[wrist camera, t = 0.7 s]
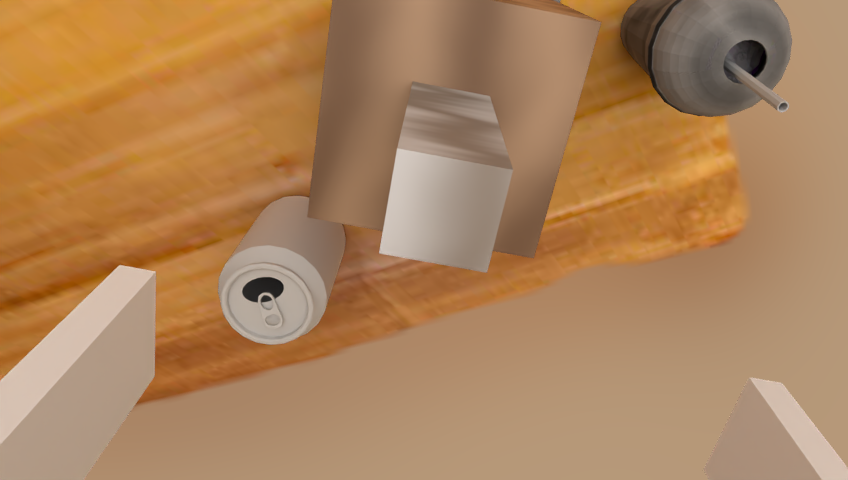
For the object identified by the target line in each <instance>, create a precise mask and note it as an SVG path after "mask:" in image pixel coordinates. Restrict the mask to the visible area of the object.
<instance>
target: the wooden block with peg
mask: <svg viewBox="0 0 848 480" xmlns="http://www.w3.org/2000/svg"><path fill="white" fill-rule="evenodd" d="M600 25H601V22H600V21H598V20H596V19H593V18H591V17H589V16H587V15H585V14H582V13H580V12H578V11H576V10H574V9H572V8H569V7H567V6H565V5H563V4H561V3H559V2H556V1H554V0H333V1H332V9H331V18H330V26H329V35H328V43H327V52H326V60H325V69H324V77H323V86H322V95H321V103H320V112H319V120H318V129H317V137H316V146H315V154H314V163H313V171H312V180H311V188H310V197H309V205H308V214H307V217H308V218H313V219H319V220H324V221H330V222H335V223H341V224H346V225H352V226H357V227H363V228H369V229H374V230H380V231H383V233H382V239H381V245H380V251H379V253H380V254H385V255H391V256H397V257H402V258H408V259H413V260H419V261H425V262H430V263H436V264H441V265H447V266H453V267H458V268H464V269H469V270H475V271H481V272H486V273H487V271H488V267H489V263H490V259H491V255H492V251H496V252H502V253H507V254H513V255H518V256H524V257H529V258H534V255H535V252H536V249H537V245H538V242H539V238H540V235H541V231H542V228H543V224H544V221H545V217H546V214H547V210H548V207H549V203H550V200H551V196H552V193H553V189H554V186H555V182H556V179H557V175H558V172H559V168H560V165H561V161H562V158H563V154H564V151H565V147H566V144H567V140H568V137H569V133H570V130H571V126H572V123H573V119H574V116H575V112H576V109H577V106H578V102H579V99H580V95H581V92H582V88H583V85H584V81H585V78H586V74H587V71H588V67H589V64H590V60H591V57H592V53H593V50H594V46H595V43H596V39H597V36H598V32H599V29H600Z"/></svg>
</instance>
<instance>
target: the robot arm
mask: <svg viewBox="0 0 848 480" xmlns="http://www.w3.org/2000/svg"><path fill="white" fill-rule="evenodd" d="M155 309H156V271H150V270H145V269H139V268H133V267H128V266H122V265H119V266H118V267H117V268H116V269H115V270H114V271H113V272H112V273H111V274H110V275H109V276H108V277H107V278H106V279H105V280H104V281H103V282H102V283H101V284H100V285H99V286H98V287H97V288H95V289H94V290H93V291H92V292H91V293H90V294H89V295H88V296H87V297H86V298H85V299H84V300H83V301H82V302H81V303H80V304H79V305H78V306H77V307H76V308H75V309H74V310H73V311H72V312H71V313H70V314H69V315H68V316H67V317H66V318H65V319H63V320H62V321H61V322H60V323H59V324H58V325H57V326H56V327H55V328H54V329H53V330H52V331H51V332H50V333H49V334H48V335H47V336H46V337H45V338H44V339H43V340H42V341H41V342H40V343H39V344H38V345H37V346H36V347H35V348H34V349H32V350H31V351H30V352H29V353H28V354H27V355H26V356H25V357H24V358H23V359H22V360H21V361H20V362H19V363H18V364H17V365H16V366H15V367H14V368H13V369H12V370H11V371H10V372H9V373H8V374H7V375H6V376H5V377H4V378H3V379H2V380H0V480H84V479H85V477H86V476H87V475H88V473H89V472H90V470H91V469H92V467H93V466H94V464H95V463H96V461H97V460H98V458H99V457H100V456H101V454H102V452H103V451H104V450H105V448H106V447H107V445H108V444H109V442H110V441H111V439H112V438H113V436H114V435H115V434H116V432H117V431H118V429H119V428H120V426H121V425H122V423H123V422H124V420H125V419H126V417H127V416H128V414H129V413H130V412H131V410H132V409H133V407H134V406H135V404H136V403H137V401H138V400H139V398H140V397H141V395H142V394H143V392H144V391H145V390H146V388H147V387H148V385H149V384H150V382H151V381H152V379H153V378H154V376H155ZM704 471H705V473H706V475H707V477H708V479H709V480H848V468H847V466H846V465H845V464H844V463H843V461H842V460H841V458H840V457H839V456H838V455H837V453H836V452H835V451H834V449H833V448H832V447H831V446H830V444H829V443H828V442H827V440H826V439H825V438H824V437H823V435H822V434H821V433H820V431H819V430H818V429H817V428H816V426H815V425H814V424H813V422H812V421H811V420H810V419H809V417H808V416H807V415H806V413H805V412H804V411H803V409H802V408H801V407H800V406H799V405H798V403H797V402H796V400H795V399H794V398H793V397H792V395H791V394H790V393H789V391H788V390H787V389H786V388H785V386H784V385H783V384H782V383H779V382H773V381H767V380H762V379H756V378H751V377H749V378H748V381H747V383H746V384H745V386H744V389H743V391H742V393H741V395H740V397H739V399H738V401H737V403H736V405H735V407H734V409H733V411H732V413H731V415H730V417H729V419H728V421H727V423H726V425H725V427H724V429H723V431H722V433H721V435H720V437H719V440H718V441H717V443H716V445H715V448H714V450H713V452H712V454H711V456H710V458H709V460H708V462H707V464H706V466H705V468H704Z"/></svg>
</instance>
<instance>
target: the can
mask: <svg viewBox="0 0 848 480" xmlns="http://www.w3.org/2000/svg"><path fill="white" fill-rule="evenodd" d="M308 205H309V197H304V196H298V195H297V196H288V197H283V198H280V199H278V200H276V201H274V202H272V203H270V204H269V205H268V206H267V207H266V208H265V209H264V210H263V211H262V212H261V213H260V215H259V216H258V218H257V219H256V221H255V222H254V223H253V225H252V226H251V228H250V229H249V231H248V232H247V234H246V235H245V236H244V238H243V239H242V241H241V242H240V244H239V245H238V247H237V248H236V249H235V251H234V252H233V254H232V255H231V257H230V258H229V260H228V261H227V262H226V264H225V266H224V268H223V270H222V272H221V274H220V277H219V285H218V294H219V298H220V301H221V303H220V304H221V307H222V310H223V314H224V317H225V318H226V319H227V321H228V322H229V324H230V325H231V327H232V328H233V329H235V330H236V331H237V332H238V333H239V334H241V335H242V336H243V337H245V338H248V339H250V340H252V341H254V342H256V343H262V344H268V345H275V344H285V343H287V342H290V341H292V340H295V339H297V338H298V337H299V336H302V335H304V334H307V333H308V332H309V331H310V330H311V329H313V328H314V327H315V326H316V325H317V324H318V323H319V321H320V319H321V317H322V316H323V314H324V312H325V310H326V307H327V303H328V300H329V297H330V294H331V291H332V288H333V285H334V282H335V279H336V276H337V273H338V270H339V267H340V264H341V261H342V258H343V255H344V250H345V243H346V238H345V232H344V227H343V225H342V224H341V223H335V222H330V221H324V220H319V219H313V218H308V217H307V214H308Z"/></svg>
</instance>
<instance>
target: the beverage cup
mask: <svg viewBox="0 0 848 480" xmlns="http://www.w3.org/2000/svg"><path fill="white" fill-rule="evenodd" d="M621 39H622V42H623V45H624V46H625V48H626V49H627V51H628V52H629V54H630V55H631V56H632V58H633V59H634V60H635V61H636V62H637V63H638V64H639V65H640V66H641V67H642V68H643V69H644V70H645V72H646V73H647V74H648V75H649V76H650V78H651V81H652V84H653V87H654V88H655V90H656V91H657V92H658V94H659V95H660V96H661V98H662V99H663V100H664V102H666V103H667V104H669V105H670V106H672V107H674V108H675V109H677V110H678V111H680V112H684V113H688V114H693V115H697V116H707V117H713V116H723V115H731V114H734V113H737V112H739V111H742V110H744V109H747V108H749V107H752V106H753V105H755V104H756V103H758V102H759V101H760V100H761V99H764V100H765V101H766V102H767V103H769V104H770V105H771V106H773V107H774V108H775V109H776V110H778V111H780V112H784V111H786V110H787V109H788V108H789V103H788V102H786V101H785V100H784V99H782V98H781V97H780V96H778V95H777V94H776V93H774V92H773V91H772V89H773V88H774V87H775V86H776V84H777V83H778V82H779V81H780V80H781V78H782V76H783V73H784V71H785V69H786V67H787V65H788V62H789V60H790V52H791V45H792V38H791V33H790V28H789V23H788V20H787V18H786V17H785V15H784V14H783V12H782V10H781V9H780V7H779V6H778V4H777V3H776V2H775V1H774V0H637V1H636V2H635V3H634V4H633V5H631V6H630V8H629V9H628V11H627V12H626V14H625V15H624V18H623V21H622V24H621Z"/></svg>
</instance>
